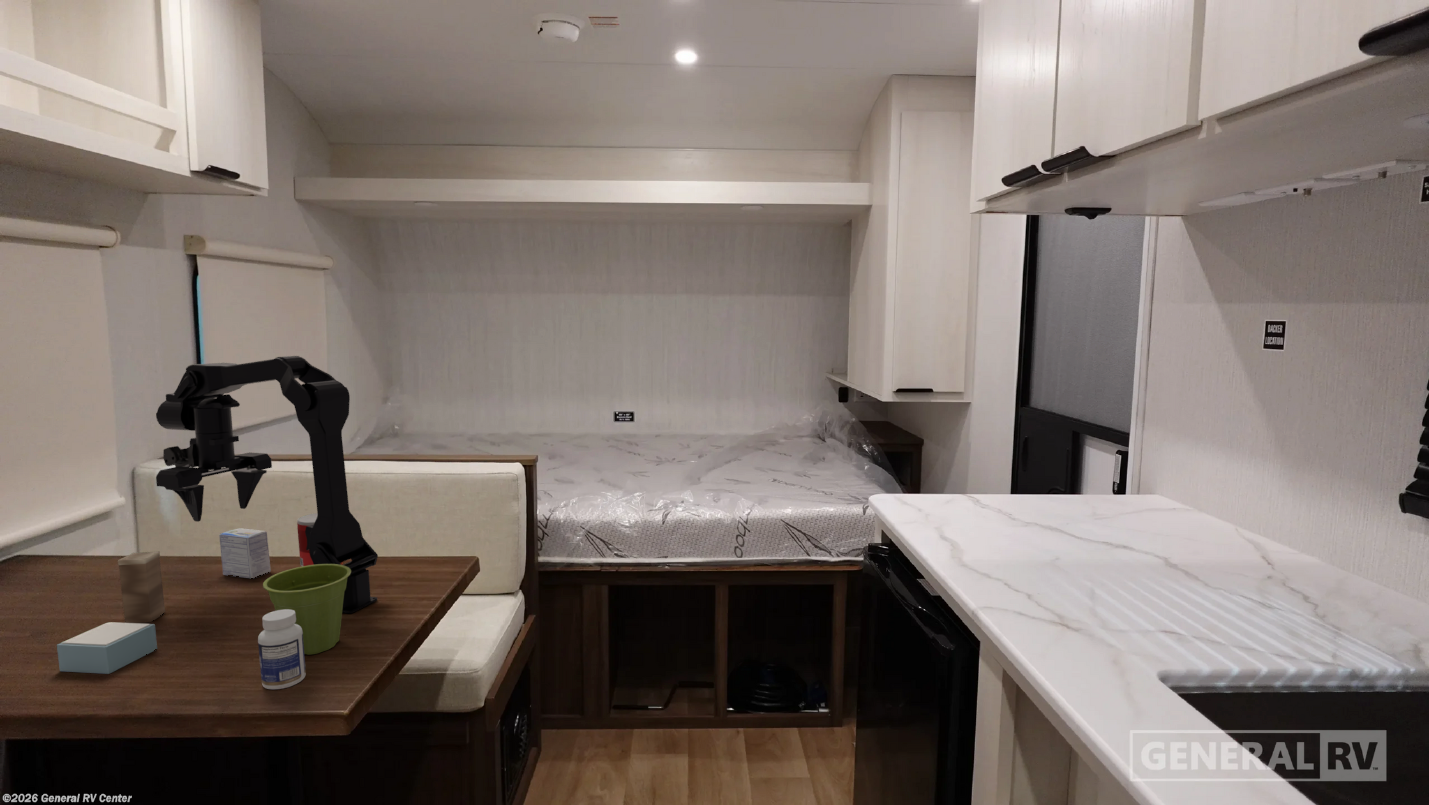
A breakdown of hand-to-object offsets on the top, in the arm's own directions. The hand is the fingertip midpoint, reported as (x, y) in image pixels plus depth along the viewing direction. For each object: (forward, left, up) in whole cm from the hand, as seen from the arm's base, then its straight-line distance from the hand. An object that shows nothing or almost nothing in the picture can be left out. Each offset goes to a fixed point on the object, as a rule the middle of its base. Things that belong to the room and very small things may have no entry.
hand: (221, 514), depth 137 cm
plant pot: (-35, +15, -15) cm, 41 cm away
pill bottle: (-40, +25, -15) cm, 50 cm away
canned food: (-8, -14, -15) cm, 22 cm away
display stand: (-9, +27, -15) cm, 32 cm away
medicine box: (+5, -8, -15) cm, 18 cm away
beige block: (+2, +14, -15) cm, 20 cm away
